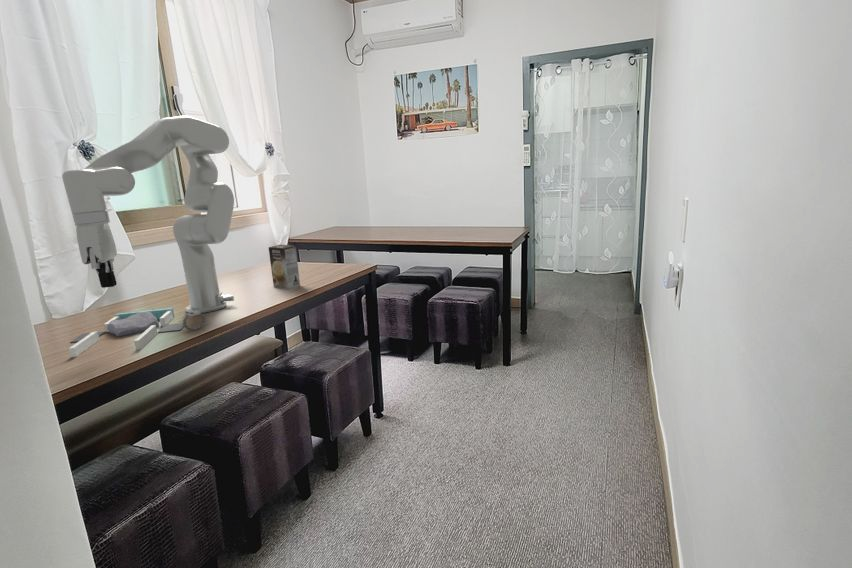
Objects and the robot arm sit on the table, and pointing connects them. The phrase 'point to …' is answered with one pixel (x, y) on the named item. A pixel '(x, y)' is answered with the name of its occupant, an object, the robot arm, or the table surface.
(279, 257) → the coffee box
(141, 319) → the stone block
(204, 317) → the wristwatch
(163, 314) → the trap channel
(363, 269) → the table surface
